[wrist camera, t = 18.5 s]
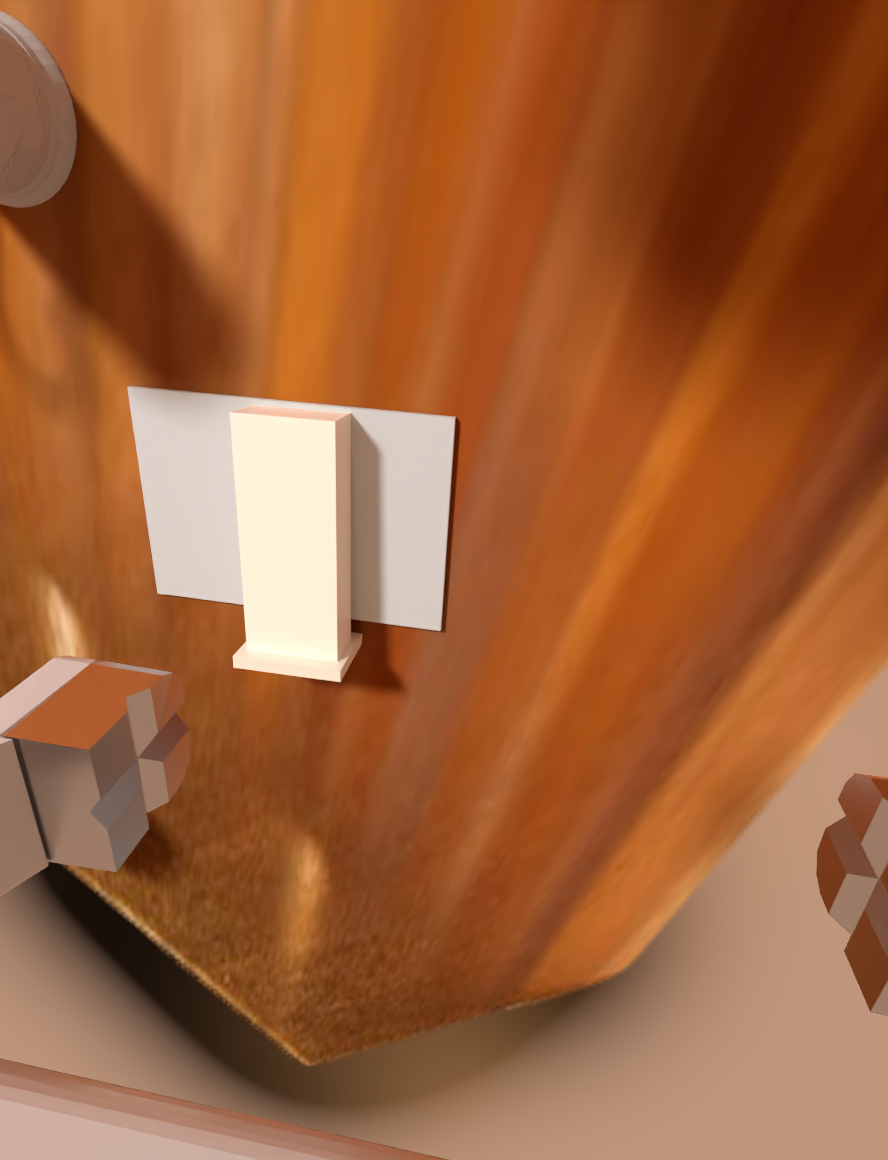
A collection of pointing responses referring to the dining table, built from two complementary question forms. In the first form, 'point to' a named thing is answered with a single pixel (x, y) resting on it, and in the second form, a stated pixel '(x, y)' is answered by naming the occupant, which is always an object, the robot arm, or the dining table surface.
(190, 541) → the mat
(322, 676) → the menu stand
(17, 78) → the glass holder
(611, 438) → the dining table surface
